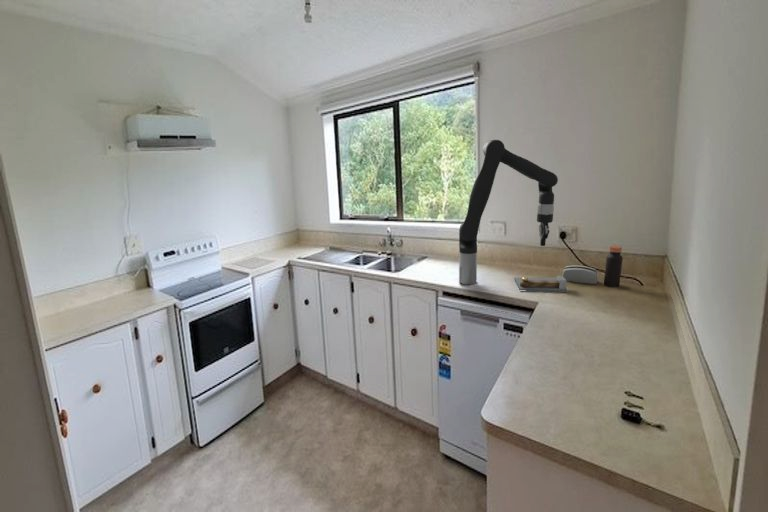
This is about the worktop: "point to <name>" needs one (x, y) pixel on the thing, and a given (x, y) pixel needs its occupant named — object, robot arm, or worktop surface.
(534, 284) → the link
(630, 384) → the worktop surface
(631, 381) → the worktop surface
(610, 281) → the bottle
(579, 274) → the grey napkin holder
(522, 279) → the pintle
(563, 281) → the keeper
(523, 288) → the board
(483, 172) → the robot arm
